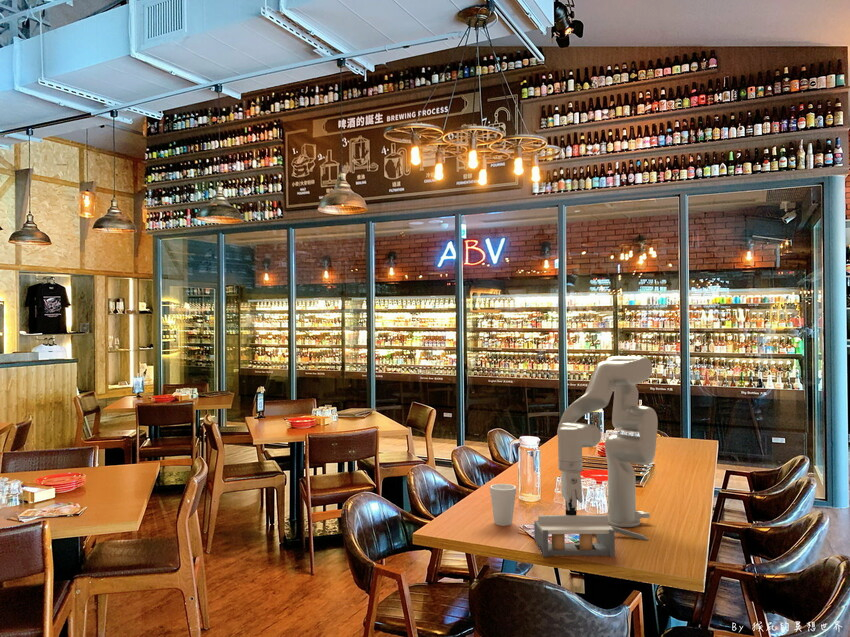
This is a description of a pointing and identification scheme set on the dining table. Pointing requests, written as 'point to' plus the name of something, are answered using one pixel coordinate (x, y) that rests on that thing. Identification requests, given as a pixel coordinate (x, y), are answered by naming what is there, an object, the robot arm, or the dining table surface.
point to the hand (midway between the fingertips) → (571, 521)
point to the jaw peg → (585, 542)
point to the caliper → (629, 533)
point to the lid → (574, 524)
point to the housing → (574, 544)
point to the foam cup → (503, 503)
